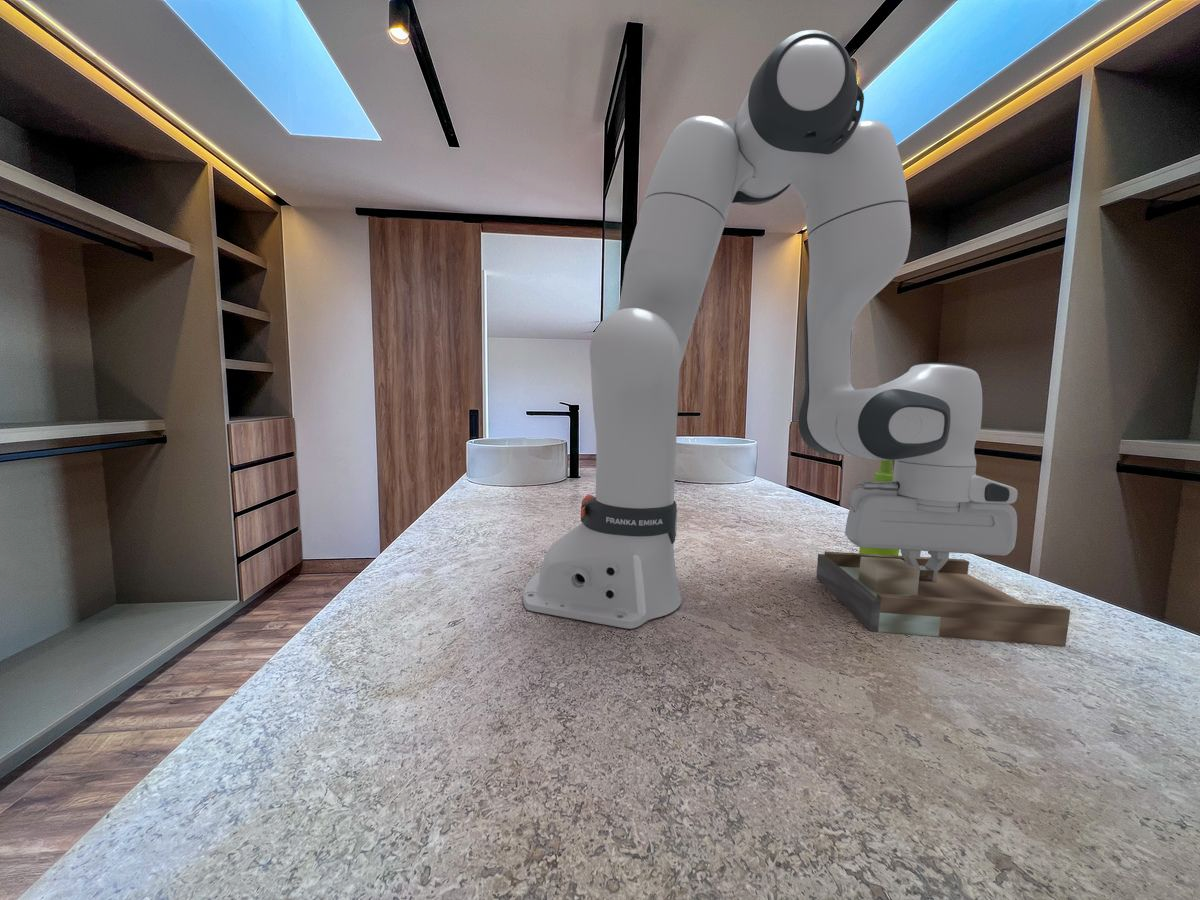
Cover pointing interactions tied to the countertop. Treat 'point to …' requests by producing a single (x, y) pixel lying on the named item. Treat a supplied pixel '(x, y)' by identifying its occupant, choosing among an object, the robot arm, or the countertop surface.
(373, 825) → the countertop surface
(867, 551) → the soap dispenser
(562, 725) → the countertop surface
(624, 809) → the countertop surface
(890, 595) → the board
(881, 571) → the maple block
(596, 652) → the countertop surface
